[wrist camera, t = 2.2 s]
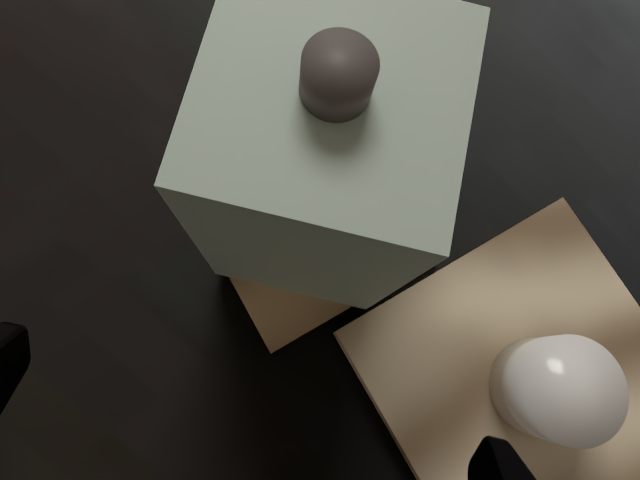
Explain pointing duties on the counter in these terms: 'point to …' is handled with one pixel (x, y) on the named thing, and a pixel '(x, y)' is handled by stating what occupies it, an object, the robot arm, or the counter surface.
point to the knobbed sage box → (326, 141)
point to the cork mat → (283, 312)
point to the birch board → (496, 348)
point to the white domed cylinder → (560, 390)
